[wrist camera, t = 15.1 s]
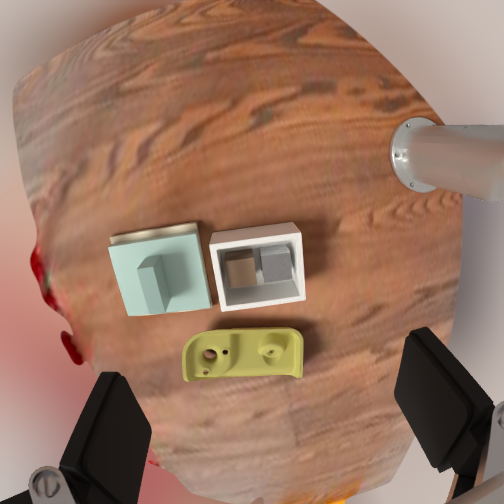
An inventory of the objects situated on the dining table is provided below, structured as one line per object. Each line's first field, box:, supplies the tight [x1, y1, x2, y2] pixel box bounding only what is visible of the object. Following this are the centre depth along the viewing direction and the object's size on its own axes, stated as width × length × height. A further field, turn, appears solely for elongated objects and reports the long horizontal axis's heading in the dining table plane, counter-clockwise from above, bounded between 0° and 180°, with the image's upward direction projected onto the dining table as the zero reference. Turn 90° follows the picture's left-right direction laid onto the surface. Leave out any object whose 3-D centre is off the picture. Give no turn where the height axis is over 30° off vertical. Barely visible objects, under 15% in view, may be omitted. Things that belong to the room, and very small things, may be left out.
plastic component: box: [182, 327, 303, 382], centre depth 50 cm, size 20×7×10 cm
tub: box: [209, 222, 306, 312], centre depth 43 cm, size 12×10×6 cm
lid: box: [108, 231, 211, 316], centre depth 42 cm, size 14×12×6 cm
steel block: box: [259, 244, 292, 283], centre depth 43 cm, size 4×4×4 cm
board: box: [110, 222, 213, 316], centre depth 45 cm, size 14×14×1 cm
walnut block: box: [225, 248, 257, 288], centre depth 43 cm, size 4×4×4 cm
